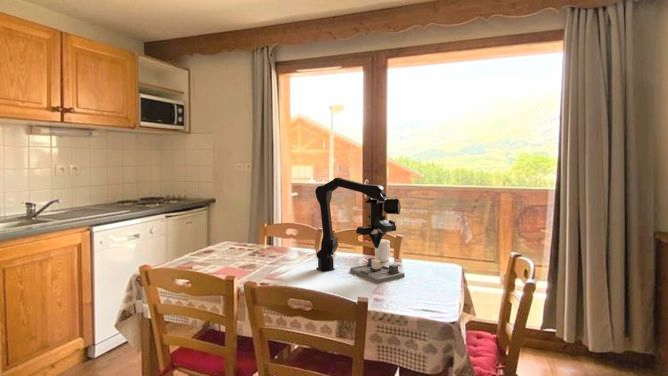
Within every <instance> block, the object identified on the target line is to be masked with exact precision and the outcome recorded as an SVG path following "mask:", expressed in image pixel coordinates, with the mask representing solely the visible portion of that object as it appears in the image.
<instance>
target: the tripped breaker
mask: <svg viewBox="0 0 668 376" xmlns="http://www.w3.org/2000/svg"><path fill="white" fill-rule="evenodd" d="M380 266H381V262H380V261H379V260H376V259H375V260H371V268H370V270H371V271H374V272H379V271H381V268H380Z"/></svg>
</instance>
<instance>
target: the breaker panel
mask: <svg viewBox="0 0 668 376" xmlns="http://www.w3.org/2000/svg"><path fill="white" fill-rule="evenodd" d="M371 260H375V257H368V259H367V261H368V263H366V264H362V265H357V266H351V267H350V269H349V273H351V274H354V275H356V276H359V277H362V278H364V279H366V280H369V281H372V282H375V283H377V284H380V283H384V282H389V281H394V280H397V279H401V278H405V272H401V271H399V266H398V265H396V264H389V265H388V266H387V265H386V266H385V265H380V268H381V271H379V272H374V271H371V270H370V268H371ZM376 260H377V259H376Z"/></svg>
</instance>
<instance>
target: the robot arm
mask: <svg viewBox="0 0 668 376" xmlns="http://www.w3.org/2000/svg"><path fill="white" fill-rule="evenodd" d="M338 188H343V189H346V190H347V189H348V190H351V191H354V192H359V193H360V194H364V195H366V196H367V197H369V198H368V199H367V200H366V201H365V204H369V207H370V208H369V214H368V216H367V217H368V218H369V220H370V221H369V224H367V225H368V226H364V225H363V226H357V228H356V234H357V235H362V236H369V238H370V240H371V241H372V244H373V245H374V249H375V248H378V247H379V244H380V241H381V239H383V236H385V235H386V234H387V233H388V232H389V233H391V232H396V231H397V226H396V221H395V220H394V219H389V220H386V219H387V218H386V216H385V215H384V213H385V214H386V215H400V214H401V207H402V206H401V202H400V198H389V197H388V195H387V194H386V193H385V189H384V186H382V185H380V184H369V183H368V184H367V183H361V182H359V181H354V180H350V179H346V178H343V177H339V176H338V177H335V178H333V179H332V180H330V181H329V182H326V183H325V184H323V185H318V186H317V187H316V188H315V190H314V192H315V197H316V199H317V202H318V204H319V207H320V219H321V229H322V238H321V243H320V250H318V251H317V252H316V254H315V255H316V258H317V267H316V269H317V270H318V271H321V272H330V271H335V268H334V258H333V255H334V253H335V252H336V250H337V249H338V246H339V243H338V240H339V239H338V238H339V237H337V236H336V237H335V235H334V231H333V222H332V213H331V201H332V195H333V192H334V191H335V190H337V189H338Z"/></svg>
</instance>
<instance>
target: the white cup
mask: <svg viewBox="0 0 668 376" xmlns="http://www.w3.org/2000/svg"><path fill="white" fill-rule="evenodd" d="M390 243H391V241H390V240H389V239H386V238H385V239H384V238H382V239H381V241H380V244H379V247H378V248H375V247H374V255H375V257H374V258H375V259H377V260H379V261H380V263H381V262H384V263H385V262H388V261H389V260H390V249H391V248H390V246H391V244H390Z"/></svg>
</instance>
